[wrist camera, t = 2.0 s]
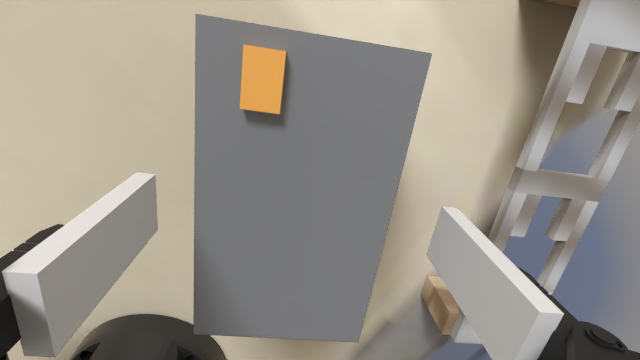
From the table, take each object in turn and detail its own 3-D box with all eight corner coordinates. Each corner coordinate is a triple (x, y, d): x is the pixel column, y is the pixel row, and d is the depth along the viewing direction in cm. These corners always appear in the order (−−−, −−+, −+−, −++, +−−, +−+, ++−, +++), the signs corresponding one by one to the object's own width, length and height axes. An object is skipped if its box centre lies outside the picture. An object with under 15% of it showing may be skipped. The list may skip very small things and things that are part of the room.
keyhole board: (495, 300, 34) (533, 346, 28) (421, 295, 33) (445, 342, 27) (635, -22, 23) (738, -46, 18) (531, -45, 22) (607, -77, 17)
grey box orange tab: (335, 236, 29) (360, 351, 18) (232, 227, 28) (190, 343, 17) (369, 54, 24) (438, 53, 12) (243, 33, 23) (190, 11, 11)
